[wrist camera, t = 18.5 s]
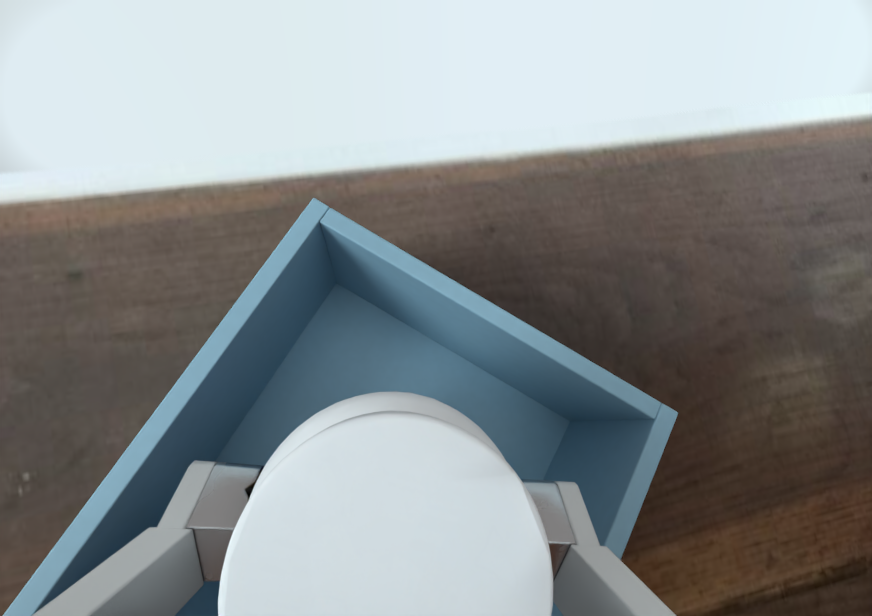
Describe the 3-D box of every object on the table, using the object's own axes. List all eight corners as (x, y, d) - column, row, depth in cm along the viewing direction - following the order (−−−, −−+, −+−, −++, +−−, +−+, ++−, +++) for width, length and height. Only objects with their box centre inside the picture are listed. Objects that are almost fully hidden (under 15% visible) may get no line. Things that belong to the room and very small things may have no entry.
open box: (141, 547, 18) (-5, 623, 11) (333, 269, 21) (313, 196, 14) (439, 728, 17) (479, 921, 11) (582, 416, 21) (679, 412, 14)
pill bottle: (267, 462, 16) (92, 523, 6) (409, 372, 17) (451, 303, 7) (354, 619, 15) (313, 975, 5) (497, 511, 16) (672, 638, 7)
